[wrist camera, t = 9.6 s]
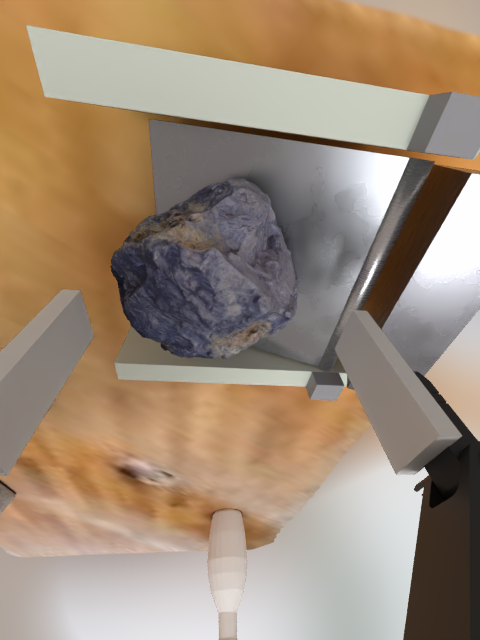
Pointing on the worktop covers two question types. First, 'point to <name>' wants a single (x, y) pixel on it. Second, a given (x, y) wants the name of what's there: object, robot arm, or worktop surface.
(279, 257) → the rock
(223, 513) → the bottle
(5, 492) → the decorative stone
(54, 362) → the robot arm
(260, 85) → the frame
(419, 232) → the trapdoor
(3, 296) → the worktop surface
